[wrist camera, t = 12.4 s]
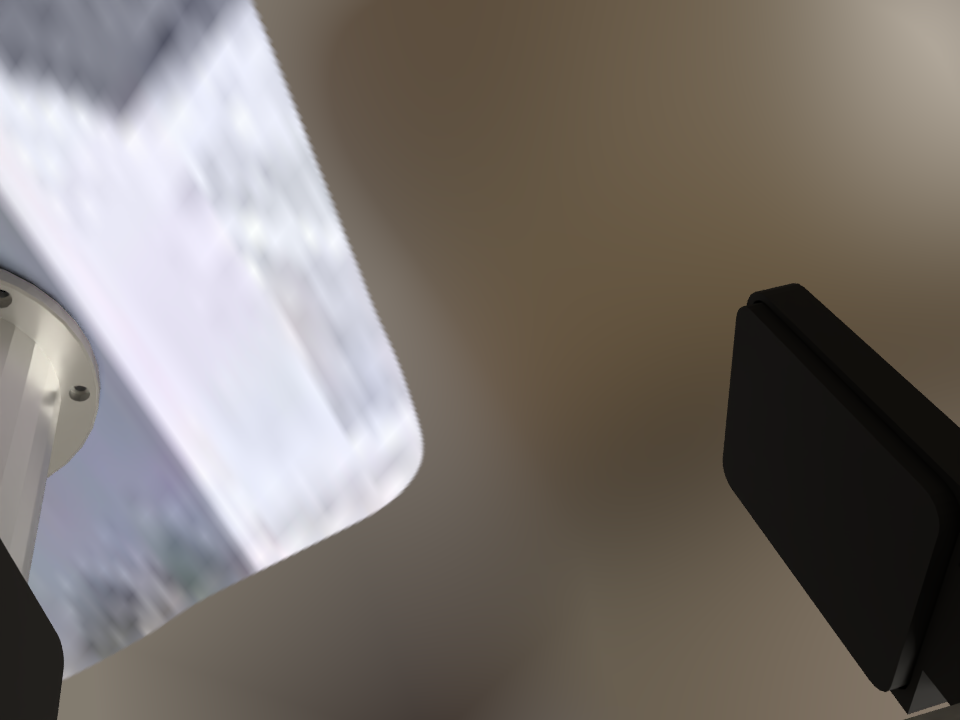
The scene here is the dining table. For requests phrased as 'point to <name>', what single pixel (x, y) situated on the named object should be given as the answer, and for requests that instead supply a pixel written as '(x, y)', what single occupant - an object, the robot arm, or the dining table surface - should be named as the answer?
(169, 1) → the dining table surface
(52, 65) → the dining table surface
